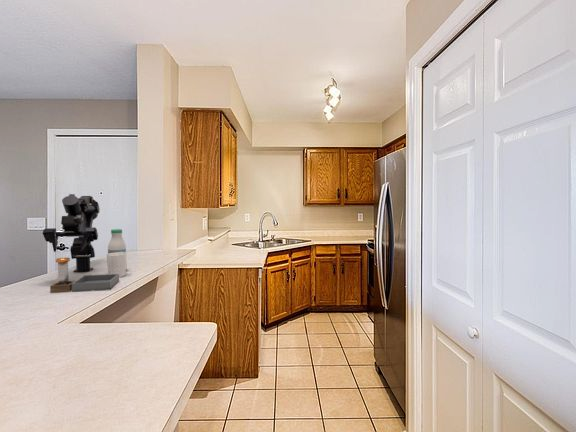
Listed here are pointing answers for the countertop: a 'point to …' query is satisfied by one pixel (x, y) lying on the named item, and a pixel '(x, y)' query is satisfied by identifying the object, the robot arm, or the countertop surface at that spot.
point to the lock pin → (63, 271)
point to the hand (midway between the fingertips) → (68, 250)
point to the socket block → (61, 287)
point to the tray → (95, 282)
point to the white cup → (116, 263)
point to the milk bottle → (116, 242)
